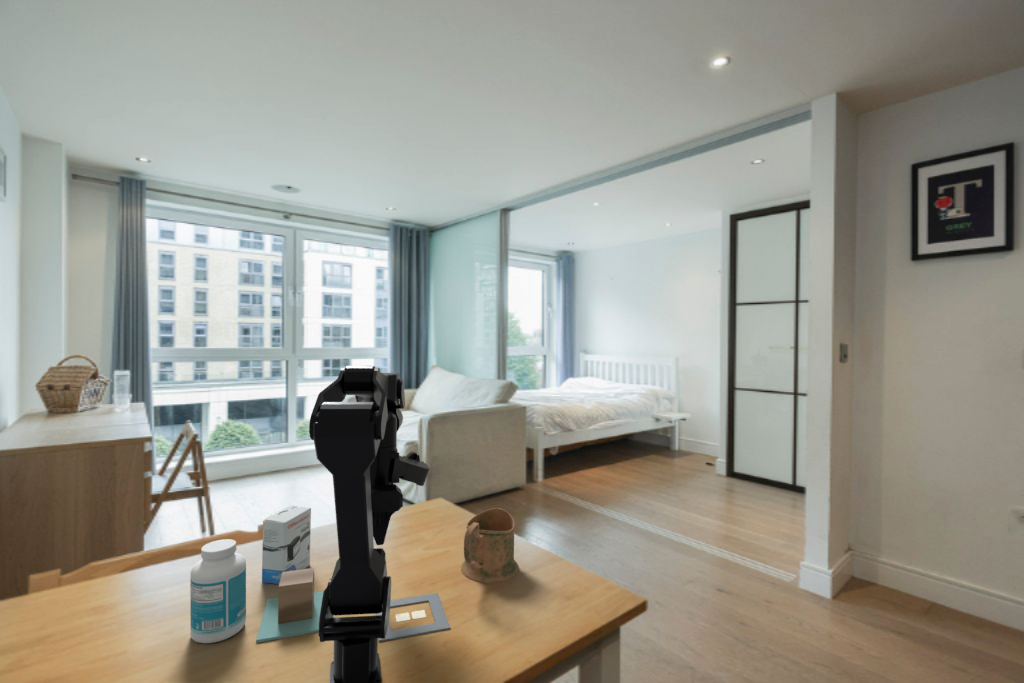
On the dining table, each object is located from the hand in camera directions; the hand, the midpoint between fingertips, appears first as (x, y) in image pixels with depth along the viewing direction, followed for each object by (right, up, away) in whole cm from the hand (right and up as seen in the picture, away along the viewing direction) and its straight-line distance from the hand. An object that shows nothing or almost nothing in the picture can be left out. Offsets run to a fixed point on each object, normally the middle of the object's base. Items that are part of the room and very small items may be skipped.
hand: (378, 533), depth 84 cm
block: (-12, -11, -4) cm, 17 cm away
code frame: (+7, -12, -4) cm, 14 cm away
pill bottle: (-23, -12, -9) cm, 27 cm away
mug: (+18, -13, +10) cm, 24 cm away
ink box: (-21, -12, +10) cm, 26 cm away
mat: (-12, -12, -4) cm, 18 cm away
